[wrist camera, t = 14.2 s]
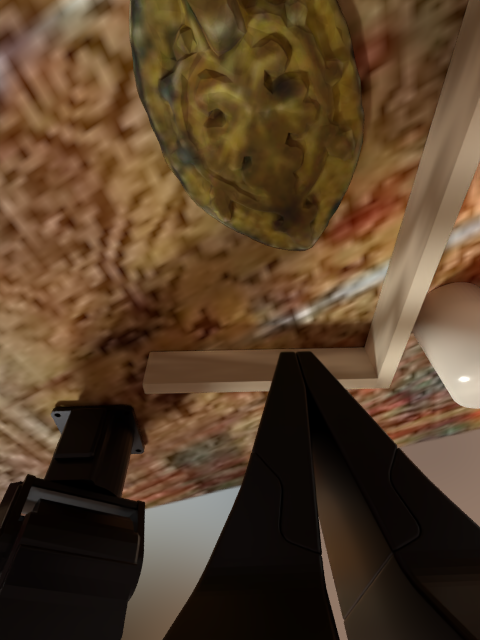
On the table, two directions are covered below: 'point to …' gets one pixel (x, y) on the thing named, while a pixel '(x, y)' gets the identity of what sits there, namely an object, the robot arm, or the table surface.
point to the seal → (253, 108)
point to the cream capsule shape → (453, 338)
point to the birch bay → (405, 265)
